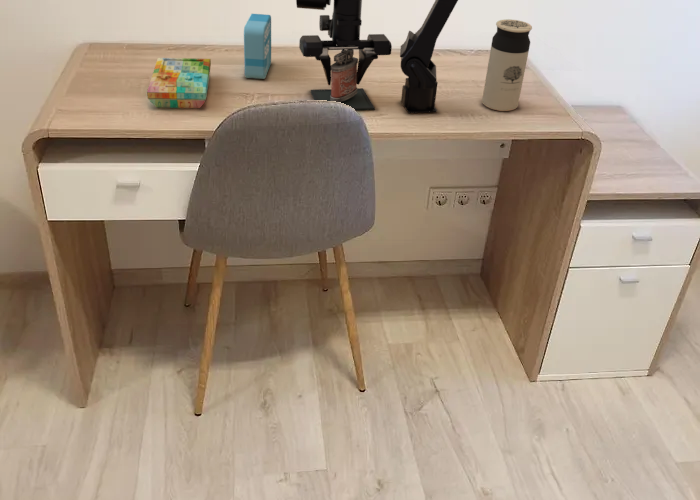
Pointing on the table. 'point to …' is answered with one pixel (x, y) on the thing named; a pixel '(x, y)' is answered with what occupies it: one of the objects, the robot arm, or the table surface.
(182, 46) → the table surface
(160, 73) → the puzzle game
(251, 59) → the data package
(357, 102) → the desk mat
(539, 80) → the table surface
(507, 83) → the travel mug
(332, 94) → the lighter
